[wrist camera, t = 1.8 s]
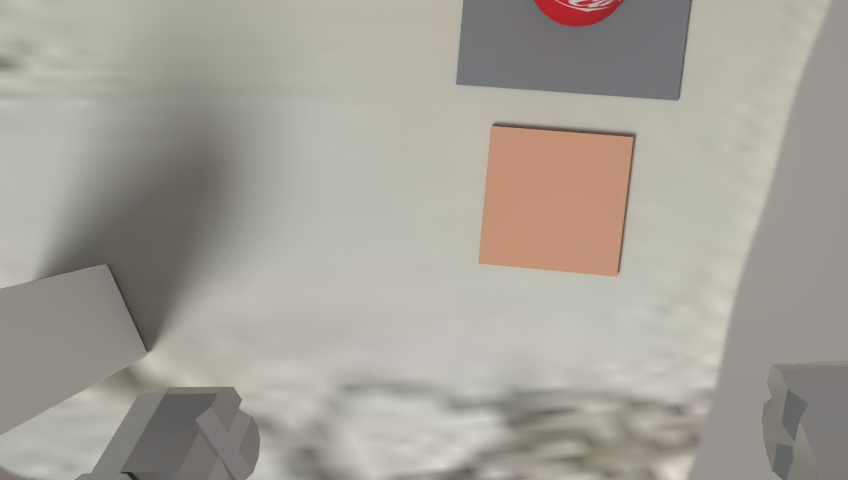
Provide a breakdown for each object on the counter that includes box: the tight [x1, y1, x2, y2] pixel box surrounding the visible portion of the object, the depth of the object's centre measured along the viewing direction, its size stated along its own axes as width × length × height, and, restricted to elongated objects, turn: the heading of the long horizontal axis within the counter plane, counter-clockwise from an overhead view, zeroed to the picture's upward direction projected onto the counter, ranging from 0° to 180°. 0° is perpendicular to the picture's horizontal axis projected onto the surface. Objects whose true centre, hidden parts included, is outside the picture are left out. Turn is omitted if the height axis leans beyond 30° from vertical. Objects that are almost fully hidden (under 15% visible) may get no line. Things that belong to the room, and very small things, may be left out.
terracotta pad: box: [479, 126, 633, 276], centre depth 42 cm, size 9×9×1 cm
